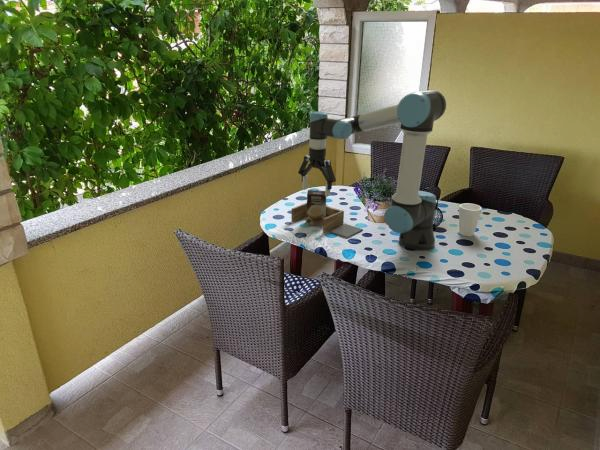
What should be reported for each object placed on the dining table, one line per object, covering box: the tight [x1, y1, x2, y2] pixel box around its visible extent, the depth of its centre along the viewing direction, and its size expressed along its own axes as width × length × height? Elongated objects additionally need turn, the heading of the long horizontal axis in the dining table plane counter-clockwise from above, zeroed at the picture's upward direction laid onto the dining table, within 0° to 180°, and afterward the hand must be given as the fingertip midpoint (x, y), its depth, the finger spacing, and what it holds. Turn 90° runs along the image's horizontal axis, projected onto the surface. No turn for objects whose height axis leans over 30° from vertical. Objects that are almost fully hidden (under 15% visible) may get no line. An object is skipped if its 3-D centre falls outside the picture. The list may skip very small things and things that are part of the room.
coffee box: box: [305, 189, 327, 228], centre depth 213 cm, size 9×6×16 cm
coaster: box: [329, 223, 364, 239], centre depth 208 cm, size 10×12×1 cm
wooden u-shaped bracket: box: [290, 202, 345, 234], centre depth 216 cm, size 20×14×7 cm
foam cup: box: [458, 202, 483, 237], centre depth 205 cm, size 10×9×13 cm
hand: (316, 192), depth 211 cm, fingers open, 13 cm apart
